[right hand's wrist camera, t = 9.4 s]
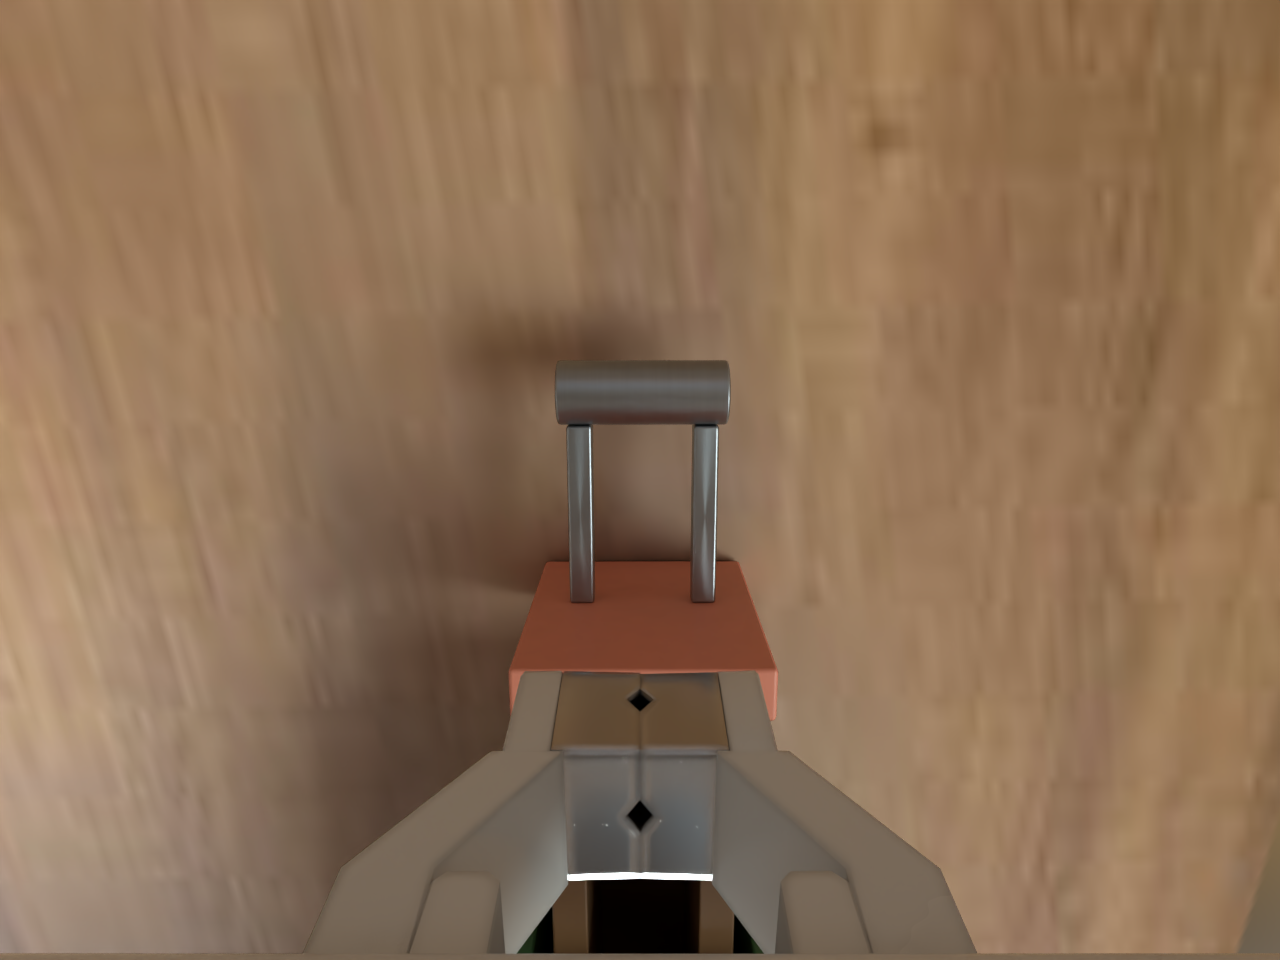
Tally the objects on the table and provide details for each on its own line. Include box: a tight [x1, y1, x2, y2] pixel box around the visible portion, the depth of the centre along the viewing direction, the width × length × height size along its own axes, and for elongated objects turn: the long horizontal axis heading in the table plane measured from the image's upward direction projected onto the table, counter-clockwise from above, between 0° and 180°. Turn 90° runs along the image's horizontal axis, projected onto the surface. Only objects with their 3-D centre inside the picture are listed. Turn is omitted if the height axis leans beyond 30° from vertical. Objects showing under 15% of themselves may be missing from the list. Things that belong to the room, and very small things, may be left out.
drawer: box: [508, 360, 778, 954], centre depth 21 cm, size 24×6×7 cm, turn 0°
